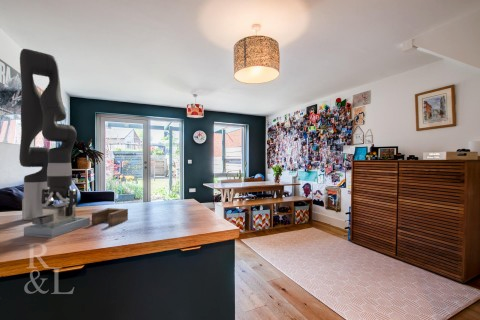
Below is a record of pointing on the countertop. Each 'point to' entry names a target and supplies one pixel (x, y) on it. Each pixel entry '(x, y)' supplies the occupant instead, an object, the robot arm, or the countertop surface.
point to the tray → (56, 228)
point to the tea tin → (54, 216)
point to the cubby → (110, 216)
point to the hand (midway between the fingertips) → (59, 215)
